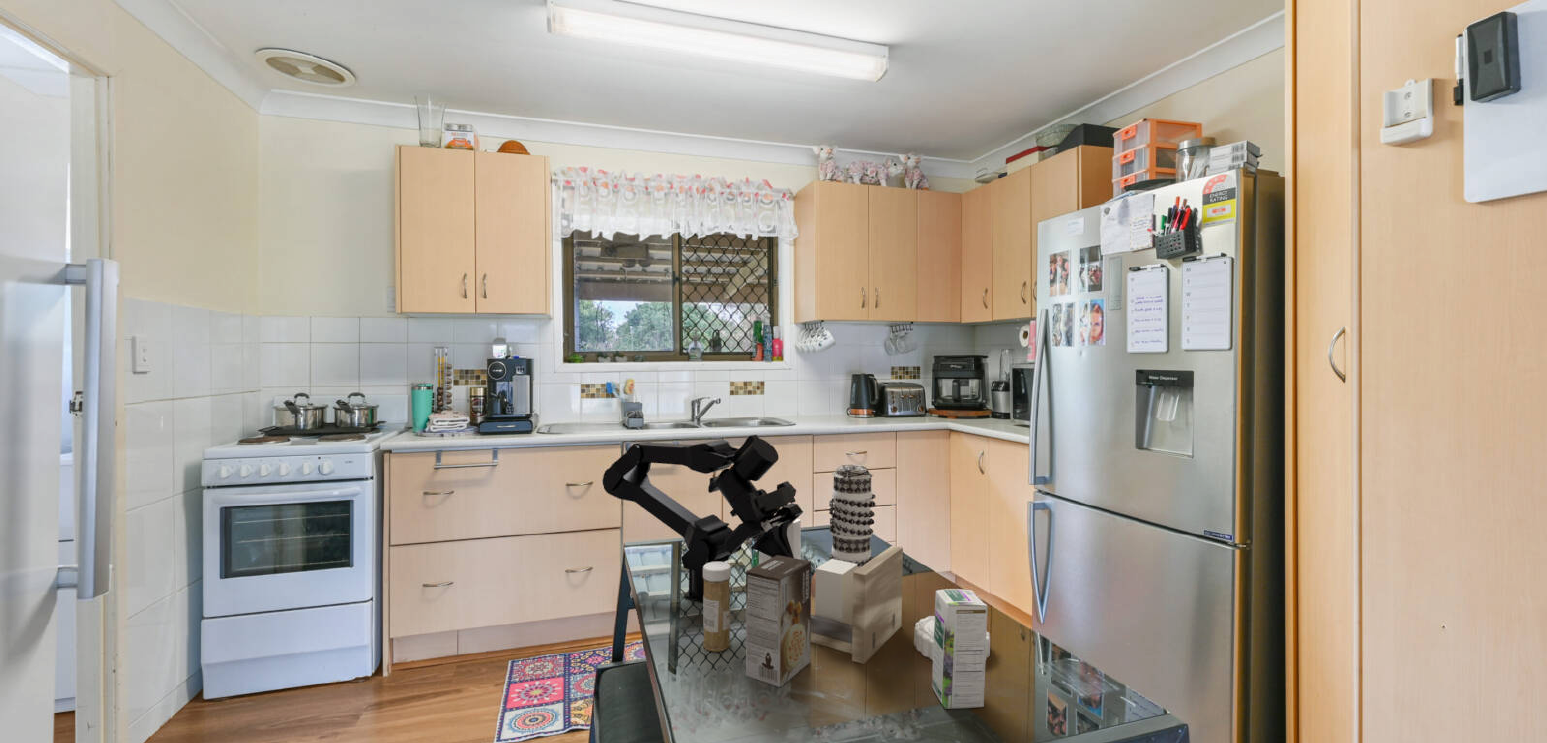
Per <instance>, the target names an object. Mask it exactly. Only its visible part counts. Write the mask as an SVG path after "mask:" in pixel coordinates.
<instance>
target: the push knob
mask: <svg viewBox="0 0 1547 743" xmlns="http://www.w3.org/2000/svg"><path fill="white" fill-rule="evenodd" d="M856 570H858V564H855V563H850V562H845V561H840V560H835V559H831V560H830V559H829V560H827V561H826V562H824V563H822V564H821V565H819V566H817V567H816V568H815V571H814V574H813V575H812V577H811V598H813V599H815V600H814V601H815V602H814V604H815V606H814V609H815V610H814V615H816V616H819V617H823V618H827V619H831V620H835V621H838V622H842V623H846V624H850V625H852V624H853V572H855V571H856Z"/></svg>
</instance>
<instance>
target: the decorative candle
mask: <svg viewBox="0 0 1547 743" xmlns="http://www.w3.org/2000/svg"><path fill="white" fill-rule="evenodd" d="M831 475H832V476H833V487H832V497H833V498H831V499H830V500H829V501H828V502H829V503H828V504H829V507H830V508H829V512H828V513H829V515H831V518H829V524H830V526H829V532H830V534H831V535H832V546H831V553H830V555H829V560H831V559H835V560H840V561H845V562H850V563H855V564H858V569H859V568H860V567H862V566H863V565H865V564H866V563H868V562H869V561H871V560H872V559H873V558H874V557H873V556H872V547H871V537H872V536H873V534H874V529H873V528H871V526H872V525H873V524H875V520H874V519H873V518H872V517H875V511H872V509H871V508H874V507H876V502H875V501H873V500H874V499H876V495H875V494H874V493H873V489H872V477H873V476H874V474H872V473H870V471H869V469H868V468H867V467H865V466H863V465H859V464H857V465H856V464H844V465H840V466H838V467H837V469H836V470H835V472H832V473H831Z"/></svg>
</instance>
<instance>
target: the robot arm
mask: <svg viewBox="0 0 1547 743" xmlns="http://www.w3.org/2000/svg"><path fill="white" fill-rule="evenodd" d="M778 461H779V453H778V451H777V449H776V447H774V445H772V444H770V443H769V442H768V441H766V440H764V439H762V438H760V437H759V436H758V434H751V435H749V436H748V437H747V438H746V439H745V441H744V443H743V444H742V445H741V446H740V447H739V448H738V447H734V446H732V445H730V442H729V441H727V440H724V439H718V440H717V439H716V440H713V441H712V440H711V441H707V442H700V443H695V444H685V443H683V444H682V443H664V442H663V443H661V442H659V443H658V442H651V441H648V440H647V441H643V442H637V443H633V444H631V445H630V446H629V448H628V449H627V451H625V453H624V454H623V455H621V456H620V457H618V459H617V460H616V461H614V462H613V463H612V464H611V466H610V467H608V468H607V469H606V470H605V471H604V474H603V476H602V487H603V489H604V491H605V492H606V494H608V495H609V496H612V497H614V498H615V499H619V500H622V501H627V502H628V501H629V502H633V503H636V504H637V506H640V507H641V508H642V509H644V510H645V511H646V512H648V513H649V514H650V515H652V516H653V517H654V518H656V519H657V520H659V521H660V522H661V523H663V524H664V525H665V526H667V527H669V528H670V529H671V530H672V531H674V532H675V533H676V534H678V535H679V536H681V537H682V538H683V539H684V542H685V544H686V545H685V546H686V547H687V551H686V552H685V553H684V554H683V555H682V556H681V562H682V566H683V569H686V570H688V592H686V593H684V594H683V597H684V598H686V599H690V600H694V601H697V602H698V601H699V602H703V595H704V580H703V579H704V578H703V566H704V565H705V564H707V563H710V562H728V561H729V560H730V557H731V556H732V555H734V554H736V553H739V552H740V551H741V550H742V545H743V544H744V543H745V542H746V541H748V540H751V539H752V541H753V545H752V546H751V547H750V549H751V550H756V551H758V552H759V551H760V552H762V553H764V554H766V555H768V556H770V557H772V558H773V557H775V556H776V555H779V556H785V557H791V558H794V556H793V553H792V550H791V547H790V544H789V541H788V537H787V529H788V527H789V526H790V525H791V524H792V523H793V522H794V521H795V520H796V519H798V518H799V517H800V516H801V515H802V514H803V513H804V511H803V510H802V508H801V507H800V505H799V504H798V503H796V502H797V501H796V499H795V497H796V493H797V489H796V488H795V487H794V486H793V485H792V484H791V483H790V482H789V481H788V480H787V481H786V480H785V481H783V482H780V483H778V484H776V490H774V491H773V490H772V491H771V492H768V493H767V491H766V490H765V489H763V488H760V489H757V487H756V486H755V485H754V483H753V482H757V481H760V480H762V478H763V477H764V475H766V474H767V473H768V472H769V470H770V469H771V468H772V467H773V466H774V465H776V463H777V462H778ZM652 464H663V465H677V466H684V467H687V468H689V469H690V470H691V471H694V472H697V473H701V474H705V475H708V474H712V473H715V472H719V471H721V472H720V473H718V475H717V476H714V477H710V478H709V484H708V487H707V488H708V489H707V490H708V491H707V492H708V493H709V494H711V493H712V494H713V493H715V492H718V491H720V493H721V495H722V496H723V497H724V499H725V500H726V502H727V503H728V504H729V506H730V507H731V508H732V510H730V511H729V514H730V516H731V517H732V518H733V517H736V516H738V519H739V520H740V521H741V522H742V523H740V524H738V525H737V526H736V527H735V528H734V529H732V528H730V527H729V525H730V524H729V523H728V522H725V521H722V520H721V519H720V518H719V517H718V516H717V515H716V514H710V515H707V516H704V517H702V518H701V517H700V516H698V515H696V514H694V513H693V511H690V509H688V508H686V507H685V506H683V504H681V503H679V502H677V501H676V500H674V499H673V498H672V497H670V496H669V495H667V494H666V493H665V492H663V491H661V490H660V489H659V488H657V487H656V486H654V484H652V483H651V481H650V477H649V475H648V473H649V472H650V470H651V466H652ZM731 465H732V466H731ZM752 481H753V482H752Z"/></svg>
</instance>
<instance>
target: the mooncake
mask: <svg viewBox="0 0 1547 743" xmlns="http://www.w3.org/2000/svg"><path fill="white" fill-rule="evenodd" d="M934 623H935V615H929V616H926V617H925V618H921V619H920V620H918V622H916V623H915V626H914V630H913V631H914V632H913V633H914V635H913V636H914V639H913V644H914V645H913V646H915V648H916V650H917V651H918V652H919V653H921V655H922V656H924V657H927V658H929V659H930V660H932V661H933V646H934ZM990 655H991V634H990V632H989V631H987V637H986V660H987V659H988V658H989V657H990Z"/></svg>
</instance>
